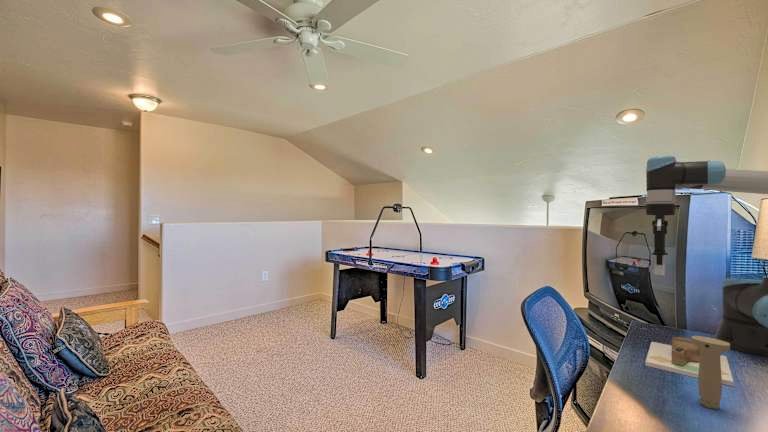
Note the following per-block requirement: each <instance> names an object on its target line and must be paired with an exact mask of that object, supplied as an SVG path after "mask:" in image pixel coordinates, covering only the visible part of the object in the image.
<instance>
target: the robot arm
mask: <svg viewBox="0 0 768 432" xmlns="http://www.w3.org/2000/svg"><path fill="white" fill-rule="evenodd" d="M645 170H646V171H645V173H646V175H645V177H646V189H645V190H646V193H644V194H643V196H644V197H645V198H646V201H645V202H646V203H648V204H646V205H645V215H647V216H655V218H654V220H652V223H651V225H652V233H653V237H654V240H653V241H654V242H653V243H654V247H653V248H654V249H653V252H652V253H651V255H653V256H654V257H653V258H654V261H653V264H654V265H653V266H654V267H653V270H654V271H653V275H657V276H665V275H666V256H668V252H666V234H668V225H669V221H668V220H666V216H675V214H676V204H675V202H676V191H677V190H682V189H689V190H704V191H705V190H706V191H716V192H717V191H720V192H731V193H744V194H745V193H746V194H756V195H757V194H759V195H768V170H750V169H749V170H748V169H735V168H734V169H732V168H731V169H730V168H726V165H725V163H724V162H722V161H720V160H704V161H703V160H702V161H701V160H700V161H699V160H698V161H697V160H696V161H677V159H676V157H675V156H674V155H659V156H652V157H650V158H648V159H647V161H646V169H645ZM721 289H722V321H721V323H720V325H719V327H718V329H717V331H716V333H715V337H714V339H718V340H721V341H725V342H728V343H730V350H734V351H738V352H741V353H746V354H751V355H757V356H766V357H767V356H768V275H766V276H765V277H764V278H763V279H750V278H749V279H747V278H736V277H735V278H733V277H732V278H730V277H729V278H728V277H727V278H725V279H724V280H723V282H722V287H721Z"/></svg>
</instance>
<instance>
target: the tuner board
mask: <svg viewBox="0 0 768 432" xmlns="http://www.w3.org/2000/svg"><path fill="white" fill-rule="evenodd" d="M720 362H721V377H722V385H727V386H730V387H734V379H733V375H732V372H731V368H730V365H729V362H728V357H727V356H726V355H722V354H721V355H720ZM644 363H645V367H649V368H655V369H659V370H662V371H668V372H671V373H676V374H679V375H684V376H688V377H692V378H697V379H698V373H699V363H700V362H693V361H688V362H687V363H686V364H685V365H684V366H680V365H677V364H673V363H672V344H667V343H666V344H665V343H662V342H656V341H651V343H650V345H649V349H648V351H647V355H646V358H645V362H644Z"/></svg>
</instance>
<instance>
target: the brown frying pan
mask: <svg viewBox="0 0 768 432" xmlns="http://www.w3.org/2000/svg"><path fill="white" fill-rule="evenodd" d="M671 346H672V363H673V364H677V365H680V366H684V365H685V364H686V363H687V362H688V361H693V362H700V348H699V347H697V346H696V345H694V344H693V343H692V340H691V338H687V337H682V336H674V337H671Z"/></svg>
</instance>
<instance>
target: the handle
mask: <svg viewBox="0 0 768 432" xmlns="http://www.w3.org/2000/svg"><path fill="white" fill-rule="evenodd" d="M690 339H691V340H692V343H693V344H694V345H696V346H697V347H699V348H700V363H699V373H698V378H697V386H698V394H699V403H700V405H702V406H704V407H705V408H708V409H714V410H718V409H719V408H720V405H721V400H722V395H723V394H722V393H723V384H722V377H721V362H720V355H722V353H725V352H729V351H730V350H731V349H730V343H728V342H725V341H721V340H718V339H715V338H712V337H707V336H702V335H701V336H700V335H692V336H691V338H690Z"/></svg>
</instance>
